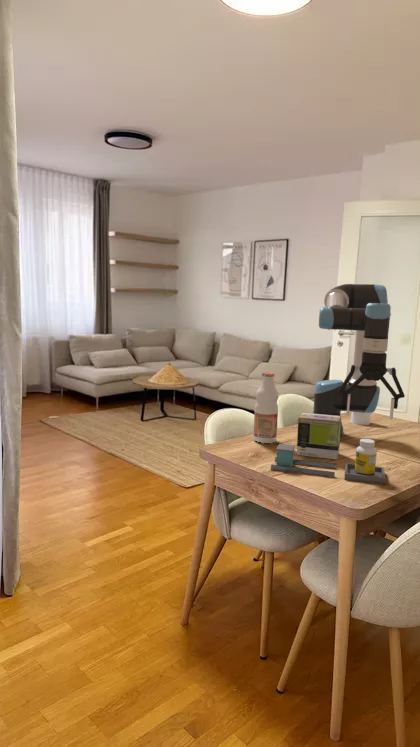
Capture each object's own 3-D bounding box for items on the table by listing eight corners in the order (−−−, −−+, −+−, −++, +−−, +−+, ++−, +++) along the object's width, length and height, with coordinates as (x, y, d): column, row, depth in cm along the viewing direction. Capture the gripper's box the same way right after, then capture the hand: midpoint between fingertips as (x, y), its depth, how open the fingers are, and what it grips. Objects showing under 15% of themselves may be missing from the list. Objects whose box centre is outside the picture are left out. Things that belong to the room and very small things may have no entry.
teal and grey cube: (278, 461, 178) (279, 443, 177) (293, 463, 177) (294, 445, 176) (275, 467, 172) (276, 448, 171) (291, 469, 171) (292, 450, 170)
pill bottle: (351, 470, 170) (354, 437, 169) (369, 471, 171) (372, 437, 169) (358, 477, 164) (361, 443, 162) (377, 477, 164) (380, 443, 163)
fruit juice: (248, 438, 207) (252, 371, 203) (268, 436, 212) (271, 371, 207) (261, 445, 199) (264, 375, 195) (280, 442, 203) (284, 374, 199)
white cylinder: (351, 424, 239) (353, 399, 237) (349, 419, 248) (351, 395, 246) (371, 425, 238) (373, 400, 236) (368, 421, 246) (370, 397, 245)
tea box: (339, 453, 192) (342, 415, 190) (337, 460, 183) (339, 421, 181) (299, 448, 197) (302, 411, 195) (295, 455, 188) (298, 416, 185)
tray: (345, 468, 175) (345, 462, 174) (383, 472, 171) (383, 467, 171) (344, 479, 164) (344, 473, 163) (385, 484, 160) (385, 478, 160)
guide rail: (275, 460, 180) (275, 456, 180) (335, 467, 175) (335, 463, 175) (270, 469, 171) (271, 465, 171) (334, 477, 165) (334, 473, 165)
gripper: (334, 350, 161) (329, 415, 164) (417, 355, 154) (411, 422, 158) (335, 348, 168) (330, 410, 171) (414, 352, 162) (408, 417, 165)
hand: (369, 416), depth 165 cm, fingers open, 13 cm apart
